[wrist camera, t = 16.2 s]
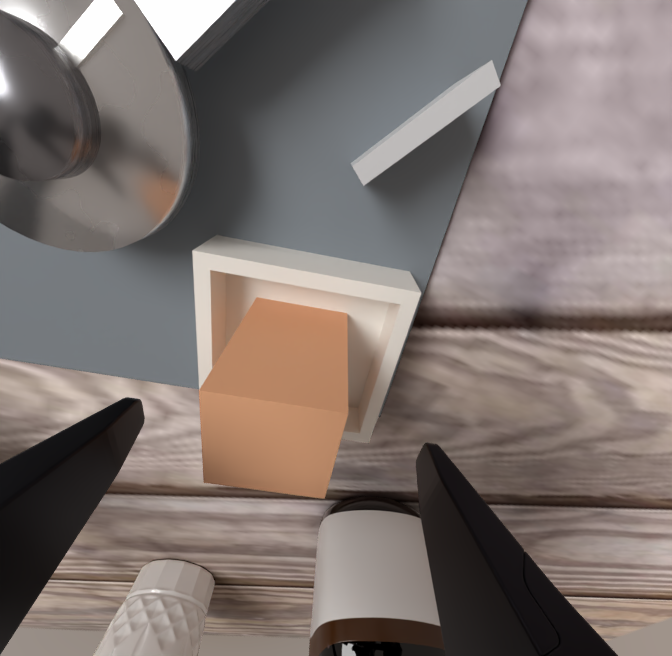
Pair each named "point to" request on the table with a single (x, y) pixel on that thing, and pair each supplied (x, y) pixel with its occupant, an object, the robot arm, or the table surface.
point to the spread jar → (373, 583)
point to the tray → (314, 291)
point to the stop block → (277, 401)
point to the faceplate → (281, 174)
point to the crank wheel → (103, 114)
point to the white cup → (161, 612)
